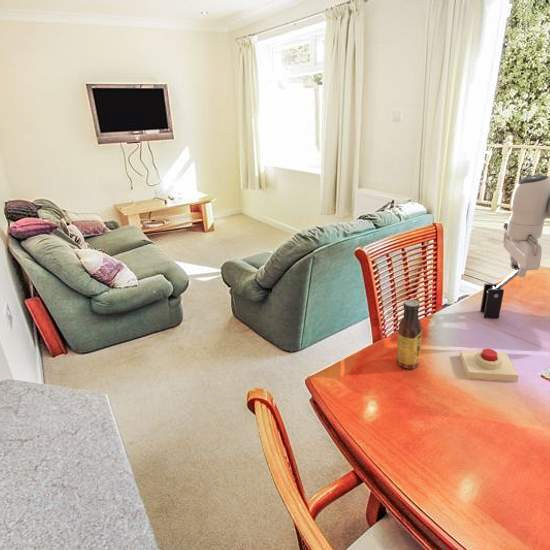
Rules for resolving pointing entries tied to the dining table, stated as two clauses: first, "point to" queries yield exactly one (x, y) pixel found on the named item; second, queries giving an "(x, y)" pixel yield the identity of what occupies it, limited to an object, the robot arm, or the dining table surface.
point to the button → (489, 355)
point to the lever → (506, 279)
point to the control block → (488, 366)
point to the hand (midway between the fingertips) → (517, 271)
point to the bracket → (491, 301)
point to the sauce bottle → (409, 336)
